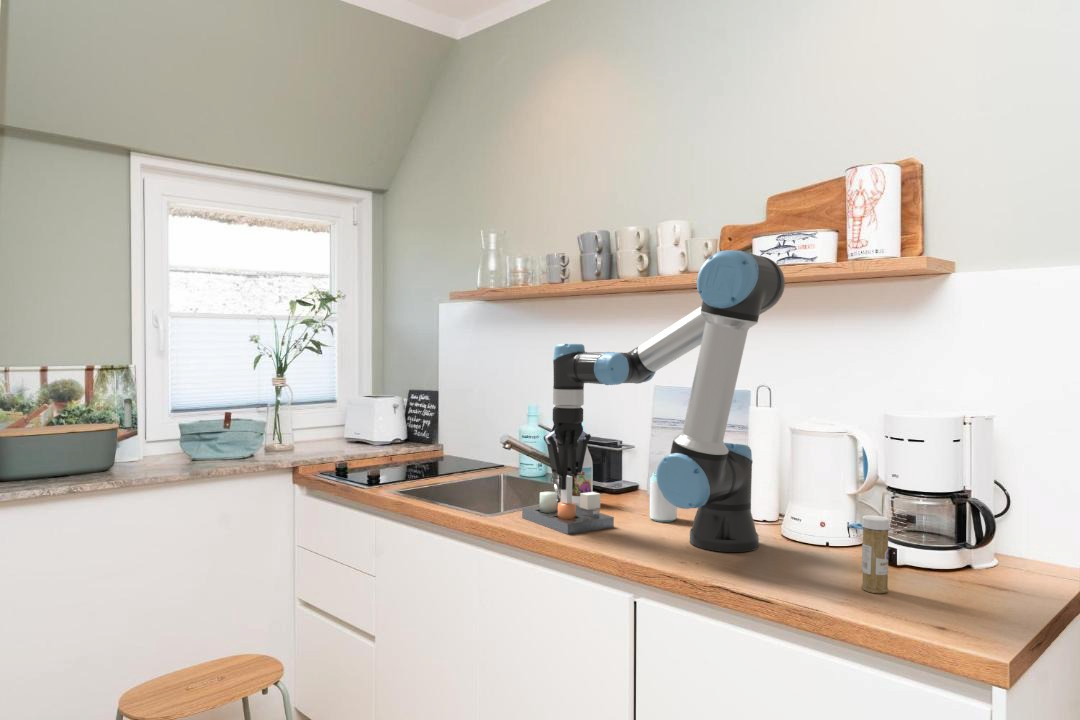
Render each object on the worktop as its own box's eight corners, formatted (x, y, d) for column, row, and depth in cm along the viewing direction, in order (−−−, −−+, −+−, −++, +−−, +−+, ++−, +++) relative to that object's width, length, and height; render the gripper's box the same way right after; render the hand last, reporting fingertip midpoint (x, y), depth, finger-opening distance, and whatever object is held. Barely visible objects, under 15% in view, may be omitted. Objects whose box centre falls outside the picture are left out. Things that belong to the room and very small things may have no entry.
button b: (560, 511, 184) (560, 493, 184) (545, 513, 182) (546, 495, 182) (550, 508, 188) (550, 491, 188) (536, 510, 185) (536, 492, 185)
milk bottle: (567, 500, 211) (568, 431, 211) (594, 501, 209) (595, 432, 209) (563, 505, 203) (564, 434, 203) (590, 507, 202) (591, 435, 202)
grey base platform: (613, 527, 179) (614, 495, 179) (567, 534, 171) (568, 501, 171) (564, 511, 196) (565, 482, 196) (520, 517, 188) (521, 487, 188)
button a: (579, 522, 177) (579, 504, 177) (564, 524, 175) (564, 506, 175) (568, 519, 181) (568, 501, 181) (554, 521, 179) (554, 502, 179)
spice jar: (889, 595, 130) (890, 520, 130) (861, 592, 132) (862, 518, 131) (887, 588, 134) (888, 515, 134) (860, 585, 136) (861, 513, 136)
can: (675, 517, 191) (676, 471, 191) (678, 523, 184) (678, 476, 184) (648, 516, 192) (649, 470, 192) (650, 522, 185) (650, 475, 185)
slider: (600, 507, 181) (600, 493, 181) (587, 509, 178) (587, 495, 178) (592, 505, 183) (593, 491, 183) (580, 507, 181) (580, 493, 181)
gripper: (580, 404, 185) (578, 497, 185) (537, 406, 177) (535, 502, 178) (598, 406, 178) (596, 502, 179) (555, 408, 171) (553, 508, 171)
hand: (566, 502), depth 178 cm, fingers closed
